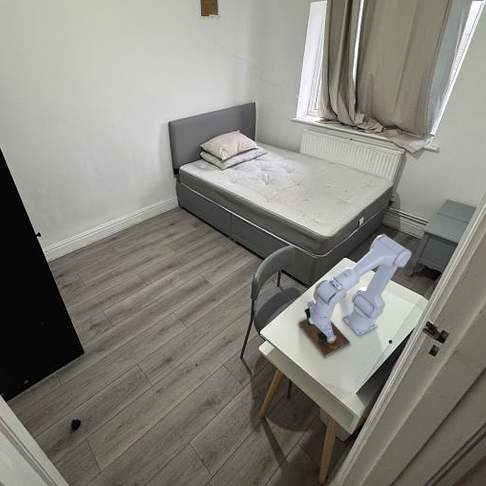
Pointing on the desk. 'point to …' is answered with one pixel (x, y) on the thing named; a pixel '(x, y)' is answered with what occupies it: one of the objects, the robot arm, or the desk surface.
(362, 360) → the desk surface
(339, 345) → the lamp base
